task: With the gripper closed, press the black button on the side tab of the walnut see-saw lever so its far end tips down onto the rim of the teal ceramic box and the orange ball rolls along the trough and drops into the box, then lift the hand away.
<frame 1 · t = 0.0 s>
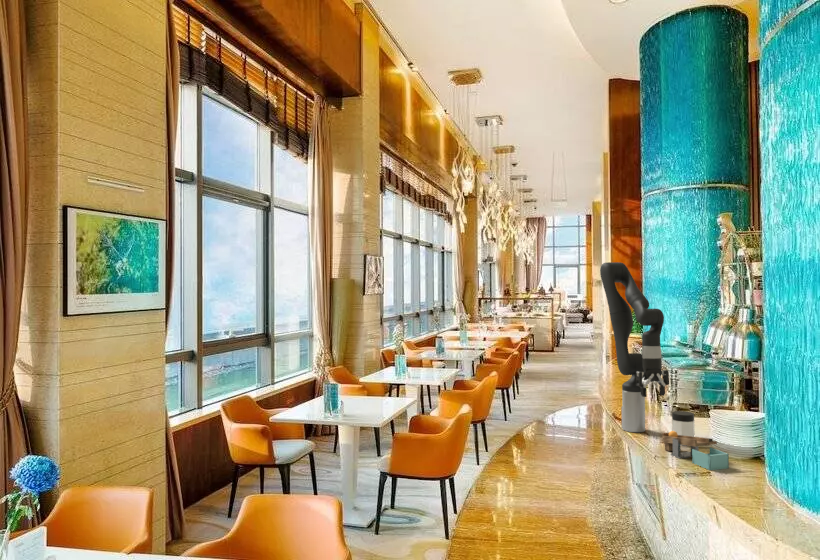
hand: (653, 396, 254), 17 cm above the worktop, tool pointing down, fingers open, 8 cm apart
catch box: (710, 465, 216), on the worktop
jar: (683, 443, 246), on the worktop
fulcrum: (685, 455, 228), on the worktop
lever: (690, 442, 229), point 5 cm above the worktop, hinge at -9.5°, touching ball
ball: (673, 435, 235), point 6 cm above the worktop, tilted 25°, touching lever
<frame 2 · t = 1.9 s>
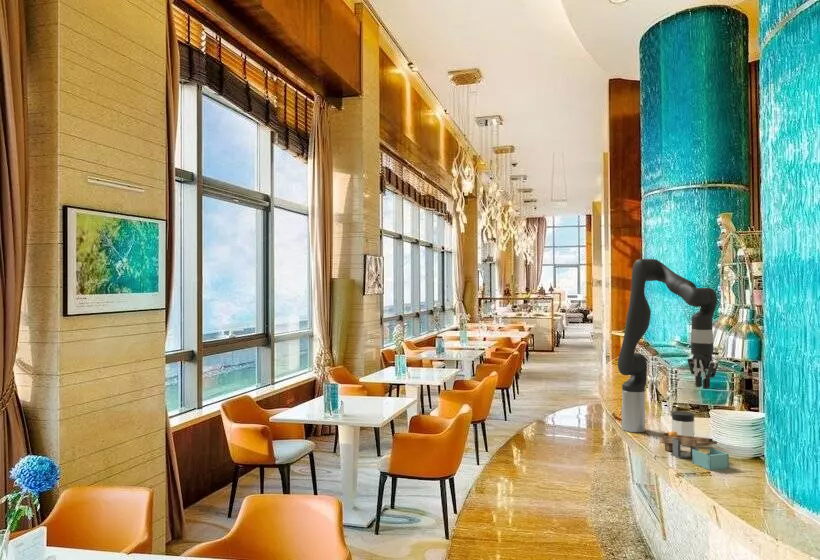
hand: (702, 387, 229), 25 cm above the worktop, tool pointing down, fingers open, 3 cm apart
nothing on the worktop moved.
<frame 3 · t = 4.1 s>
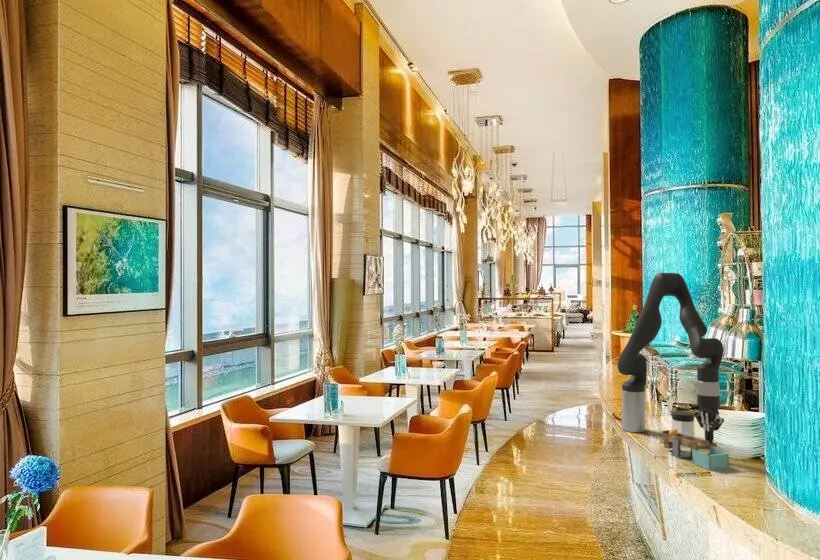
hand: (709, 441, 223), 7 cm above the worktop, tool pointing down, fingers closed
lever: (690, 442, 229), point 5 cm above the worktop, hinge at -3.2°, touching ball, gripper
ball: (673, 433, 235), point 7 cm above the worktop, tilted 19°, touching lever
everything else where it was.
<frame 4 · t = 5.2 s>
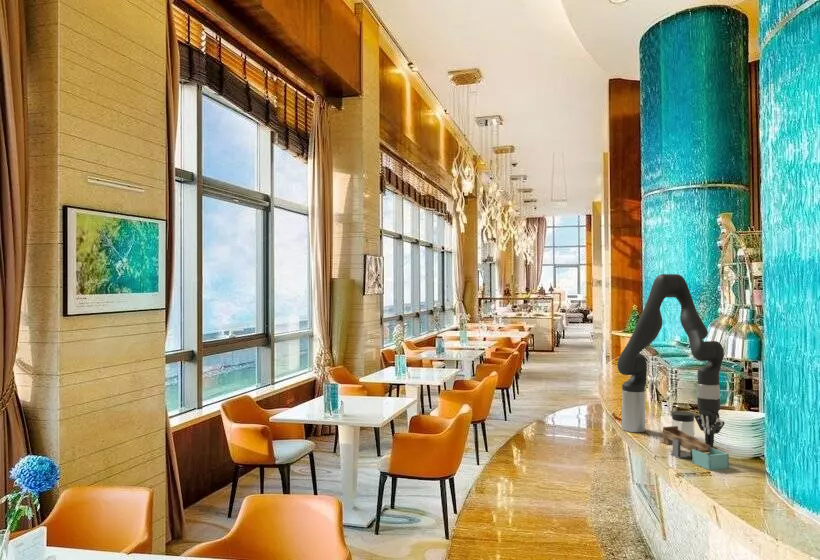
hand: (709, 444, 223), 6 cm above the worktop, tool pointing down, fingers closed
lever: (690, 442, 229), point 5 cm above the worktop, hinge at 6.5°, touching gripper
ball: (714, 461, 214), point 2 cm above the worktop, tilted 28°, touching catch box
everything else where it was.
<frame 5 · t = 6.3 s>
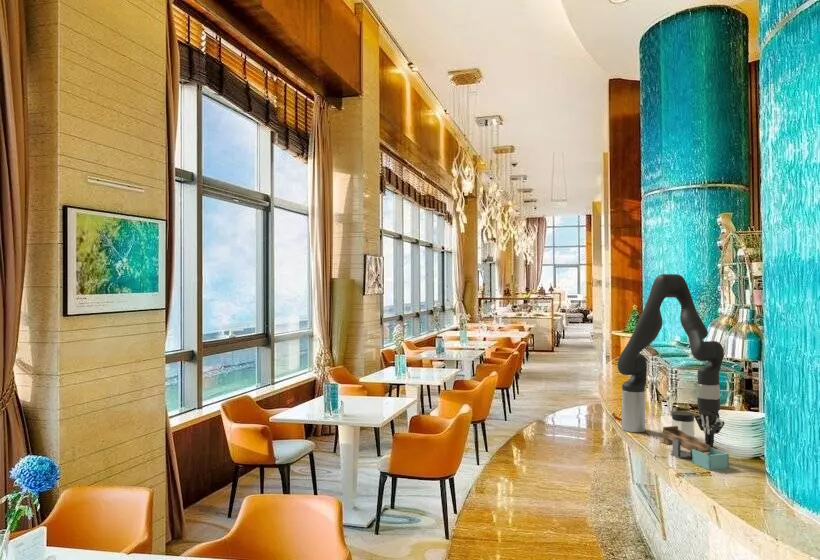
hand: (709, 444, 223), 6 cm above the worktop, tool pointing down, fingers closed
ball: (710, 459, 216), point 2 cm above the worktop, touching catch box
everything else where it was.
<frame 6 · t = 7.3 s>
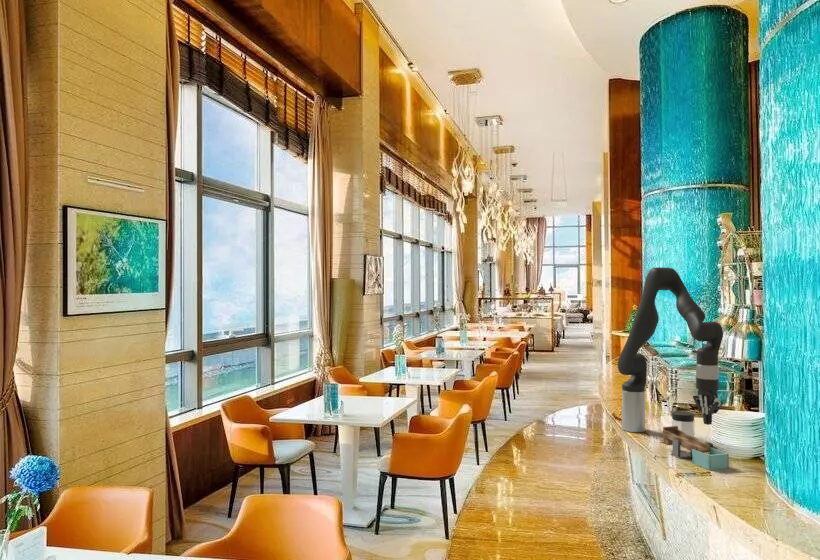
hand: (707, 424, 224), 13 cm above the worktop, tool pointing down, fingers closed
lever: (690, 442, 229), point 5 cm above the worktop, hinge at 6.7°
ball: (707, 458, 217), point 2 cm above the worktop, tilted 50°, touching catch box
everything else where it was.
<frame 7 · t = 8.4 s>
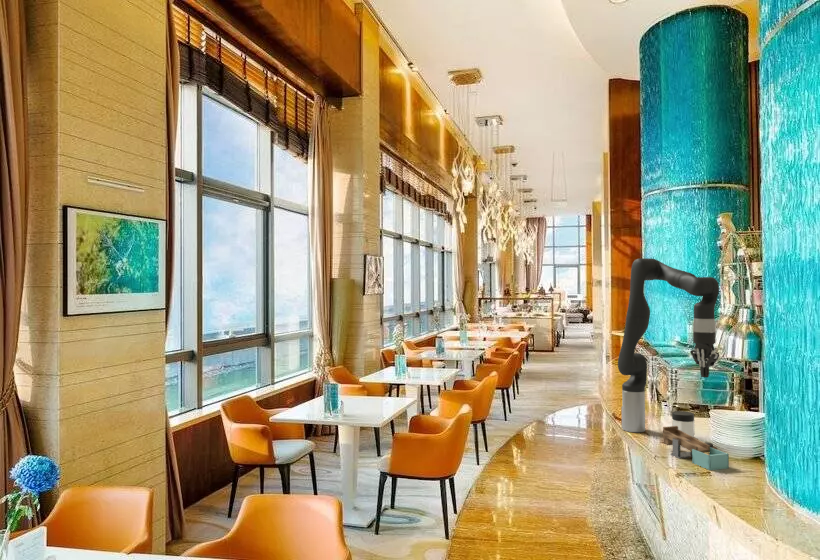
hand: (704, 377, 229), 29 cm above the worktop, tool pointing down, fingers closed
ball: (706, 458, 218), point 2 cm above the worktop, tilted 70°, touching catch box
everything else where it was.
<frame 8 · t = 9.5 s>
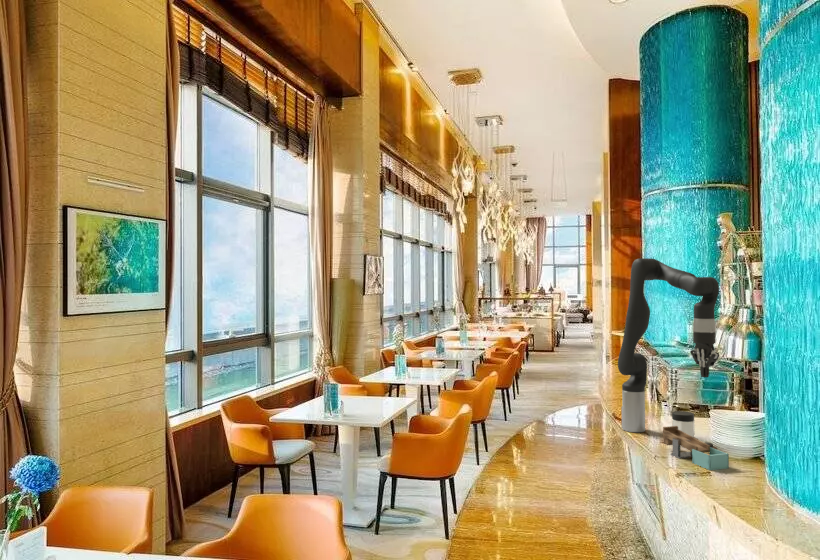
hand: (704, 377, 229), 29 cm above the worktop, tool pointing down, fingers closed
ball: (707, 458, 217), point 2 cm above the worktop, tilted 49°, touching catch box
everything else where it was.
at the end: ball inside the target area on the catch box (1.1 cm from its centre), point 2.1 cm above the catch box's base; ball touching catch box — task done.
